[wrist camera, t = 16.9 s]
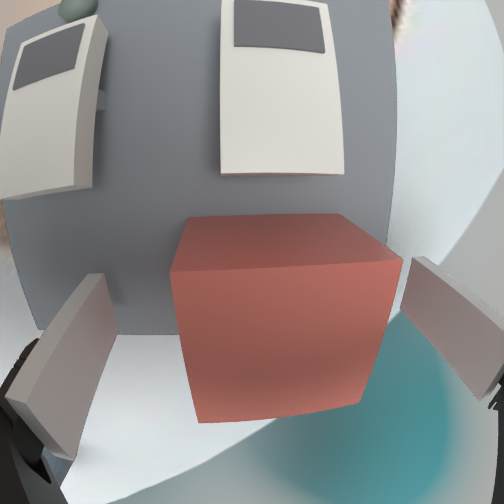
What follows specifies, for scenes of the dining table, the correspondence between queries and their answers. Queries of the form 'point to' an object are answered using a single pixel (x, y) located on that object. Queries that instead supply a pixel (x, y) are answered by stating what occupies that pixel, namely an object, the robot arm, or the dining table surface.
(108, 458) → the dining table surface
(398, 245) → the dining table surface
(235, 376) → the cap
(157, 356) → the dining table surface
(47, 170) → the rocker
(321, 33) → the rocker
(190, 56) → the panel
